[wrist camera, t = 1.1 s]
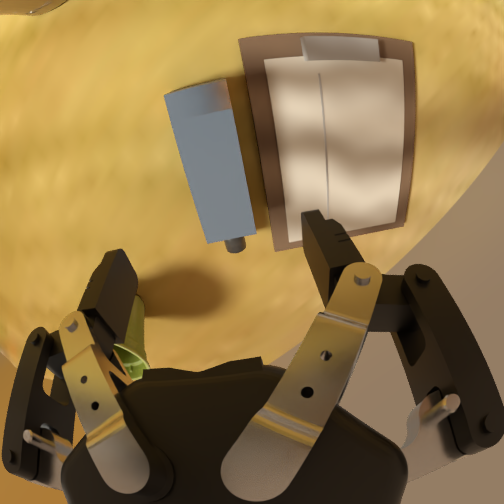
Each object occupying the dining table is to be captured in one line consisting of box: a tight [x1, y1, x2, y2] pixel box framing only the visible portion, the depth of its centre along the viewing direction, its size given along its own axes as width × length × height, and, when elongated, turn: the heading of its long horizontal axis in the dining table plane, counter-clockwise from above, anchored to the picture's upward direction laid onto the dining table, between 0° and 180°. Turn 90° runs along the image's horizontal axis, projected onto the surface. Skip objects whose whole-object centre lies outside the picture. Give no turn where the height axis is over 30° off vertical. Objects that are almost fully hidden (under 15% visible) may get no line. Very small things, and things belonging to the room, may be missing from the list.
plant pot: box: [113, 295, 150, 380], centre depth 27 cm, size 9×9×9 cm
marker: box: [164, 78, 256, 253], centre depth 20 cm, size 14×4×4 cm, turn 9°
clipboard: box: [238, 33, 415, 252], centre depth 21 cm, size 20×15×2 cm
